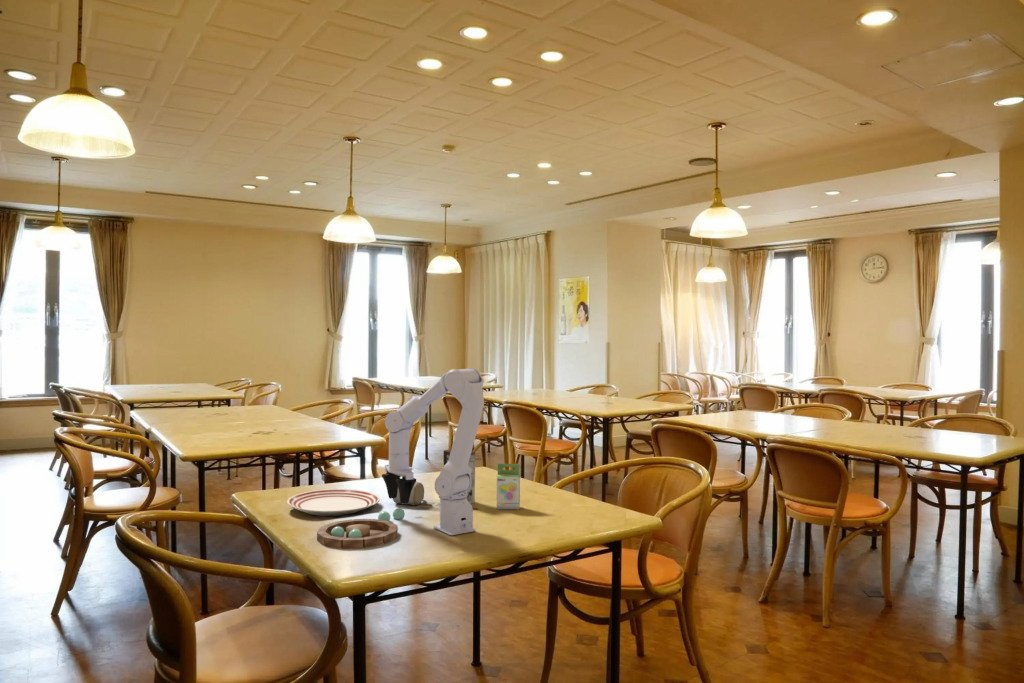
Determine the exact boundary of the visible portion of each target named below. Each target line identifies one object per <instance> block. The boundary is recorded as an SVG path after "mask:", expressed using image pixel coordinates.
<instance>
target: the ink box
mask: <svg viewBox="0 0 1024 683" xmlns="http://www.w3.org/2000/svg"><path fill="white" fill-rule="evenodd" d="M508 467H510V468H513V469H504V468H508ZM520 484H521V475H520V463H497V475H496V510H518V511H519V510H520V506H521V505H520V504H521V501H520V500H521V497H520V496H521V495H520V494H521V493H520V492H521V491H520V490H521V485H520Z"/></svg>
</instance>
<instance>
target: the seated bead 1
mask: <svg viewBox="0 0 1024 683" xmlns="http://www.w3.org/2000/svg"><path fill="white" fill-rule="evenodd" d="M344 534H345V532H344V529H343V528H342V527H335V528H333V529H332V531H331V536H336V537H344Z"/></svg>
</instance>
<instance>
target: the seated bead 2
mask: <svg viewBox="0 0 1024 683" xmlns="http://www.w3.org/2000/svg"><path fill="white" fill-rule="evenodd" d="M348 538H362V533H361V531H360V530H358V529H353V530H351V531H350V533H349V535H348Z"/></svg>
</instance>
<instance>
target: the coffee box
mask: <svg viewBox="0 0 1024 683" xmlns="http://www.w3.org/2000/svg"><path fill="white" fill-rule="evenodd" d="M450 453H451V449H445V450H443V466H444V465H445V464H446V463H447V462H448V460H449V457H450ZM468 465H469V467H470V468H471V469H472V472H471V487H470V489H469V490H468V491H467V495H466V498H467V501H468V502H469V503H470V504H474V503H475V500H476V499H475V497H476V496H475V494H476V452H474V451H472V452H471V456H470V459H469V463H468Z"/></svg>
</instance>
